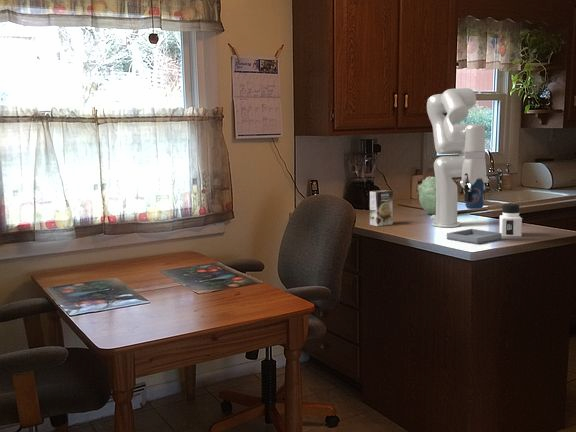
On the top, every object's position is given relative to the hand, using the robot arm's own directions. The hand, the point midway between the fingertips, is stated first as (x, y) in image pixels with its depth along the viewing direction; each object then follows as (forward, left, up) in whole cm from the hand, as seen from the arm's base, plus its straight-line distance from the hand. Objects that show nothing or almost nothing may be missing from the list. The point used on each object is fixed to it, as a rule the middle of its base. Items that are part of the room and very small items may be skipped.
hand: (474, 200), depth 245 cm
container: (+4, +18, -16) cm, 24 cm away
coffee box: (-53, -1, -16) cm, 55 cm away
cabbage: (-55, +39, -16) cm, 69 cm away
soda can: (0, 0, -3) cm, 3 cm away
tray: (0, 0, -16) cm, 16 cm away
